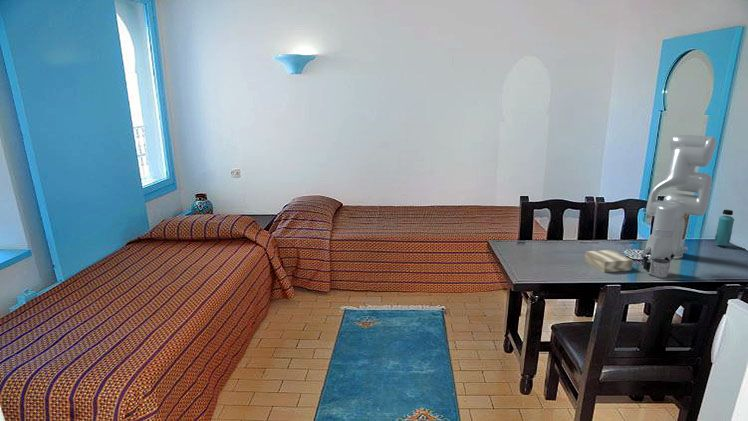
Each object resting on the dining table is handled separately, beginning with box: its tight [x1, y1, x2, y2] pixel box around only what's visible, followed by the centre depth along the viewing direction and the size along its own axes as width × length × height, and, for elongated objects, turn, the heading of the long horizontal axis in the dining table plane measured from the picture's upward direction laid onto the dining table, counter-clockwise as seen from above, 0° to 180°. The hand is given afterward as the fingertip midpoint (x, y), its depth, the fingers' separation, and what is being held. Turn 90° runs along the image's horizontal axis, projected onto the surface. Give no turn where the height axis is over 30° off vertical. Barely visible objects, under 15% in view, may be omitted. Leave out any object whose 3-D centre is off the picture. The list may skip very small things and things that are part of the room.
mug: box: [648, 258, 671, 279], centre depth 195 cm, size 10×7×7 cm
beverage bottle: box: [714, 209, 735, 247], centre depth 228 cm, size 6×7×20 cm
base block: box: [584, 249, 633, 273], centre depth 204 cm, size 14×14×5 cm
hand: (655, 268), depth 195 cm, fingers open, 9 cm apart
